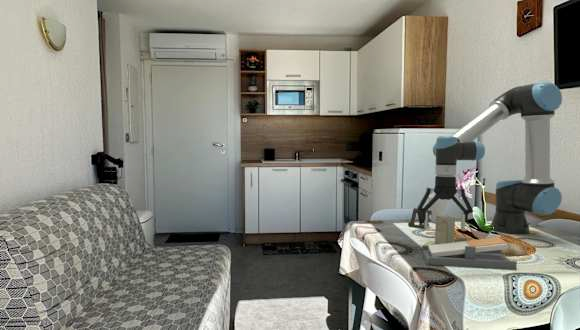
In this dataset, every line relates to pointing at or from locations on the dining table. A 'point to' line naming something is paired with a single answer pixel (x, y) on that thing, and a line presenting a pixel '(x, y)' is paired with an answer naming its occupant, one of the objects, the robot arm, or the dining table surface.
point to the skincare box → (444, 229)
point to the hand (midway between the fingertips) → (444, 229)
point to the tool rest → (514, 249)
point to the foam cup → (437, 208)
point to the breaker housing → (471, 258)
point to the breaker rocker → (459, 247)
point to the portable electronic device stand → (418, 218)
